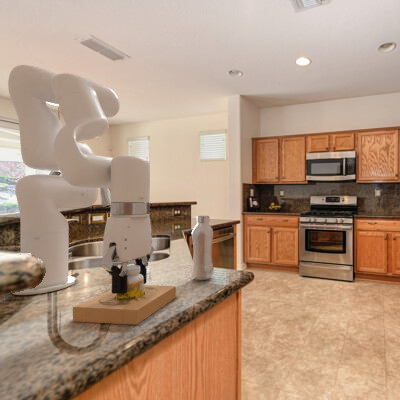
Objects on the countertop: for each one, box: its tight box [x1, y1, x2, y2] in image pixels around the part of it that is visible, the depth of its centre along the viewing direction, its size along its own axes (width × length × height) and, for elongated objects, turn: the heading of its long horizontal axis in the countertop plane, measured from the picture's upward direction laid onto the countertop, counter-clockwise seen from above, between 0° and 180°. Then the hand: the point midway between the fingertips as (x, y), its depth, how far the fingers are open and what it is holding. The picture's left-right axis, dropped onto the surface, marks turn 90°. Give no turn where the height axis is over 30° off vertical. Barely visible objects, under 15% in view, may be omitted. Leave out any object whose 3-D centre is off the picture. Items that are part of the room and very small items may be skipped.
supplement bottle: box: [116, 264, 145, 301], centre depth 59 cm, size 5×5×10 cm
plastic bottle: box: [191, 215, 215, 281], centre depth 80 cm, size 6×7×20 cm
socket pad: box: [72, 284, 177, 326], centre depth 59 cm, size 14×14×3 cm
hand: (130, 287), depth 59 cm, fingers closed on supplement bottle, 5 cm apart
